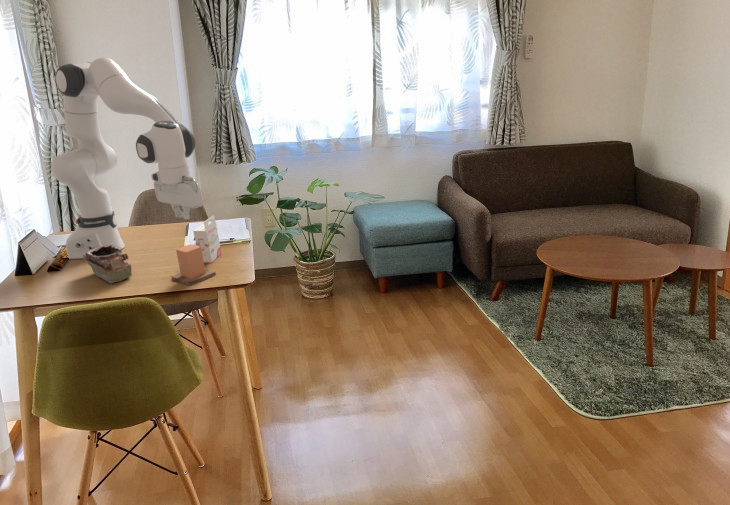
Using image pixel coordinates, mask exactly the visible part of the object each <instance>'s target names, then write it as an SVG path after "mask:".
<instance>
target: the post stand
mask: <svg viewBox="0 0 730 505" xmlns="http://www.w3.org/2000/svg"><path fill="white" fill-rule="evenodd" d="M205 272H206V273H204V274H202V275H199V276H197V277H194V278H192V279H191V278H187V277H184V276H181V273H180V272H179V273H177V274H174V275H171V280H173V281H176V282H179V283H182V284H186V285H188V286H192V285H194V284H196V283H199V282H202V281H204V280H207V279H209V278H211V277H214V276H216V274H217V273H216V271H213V270H210V269H206V268H205Z"/></svg>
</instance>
